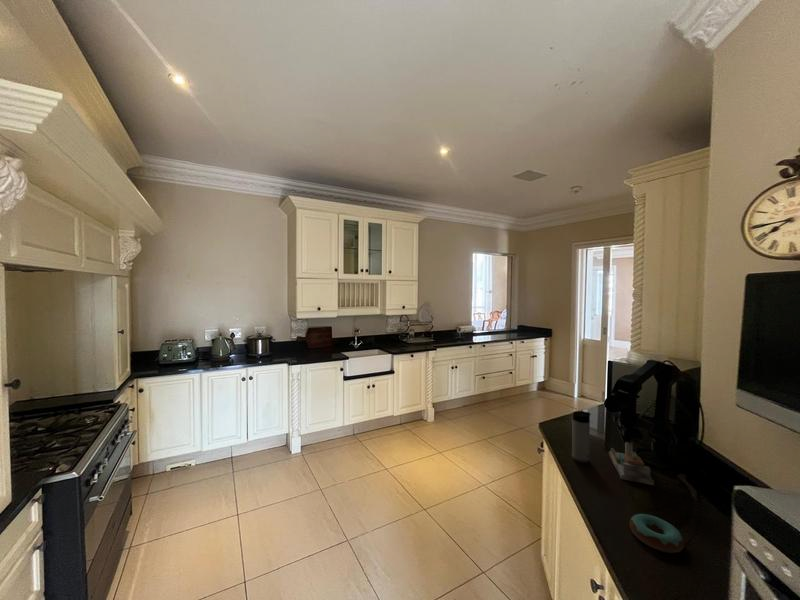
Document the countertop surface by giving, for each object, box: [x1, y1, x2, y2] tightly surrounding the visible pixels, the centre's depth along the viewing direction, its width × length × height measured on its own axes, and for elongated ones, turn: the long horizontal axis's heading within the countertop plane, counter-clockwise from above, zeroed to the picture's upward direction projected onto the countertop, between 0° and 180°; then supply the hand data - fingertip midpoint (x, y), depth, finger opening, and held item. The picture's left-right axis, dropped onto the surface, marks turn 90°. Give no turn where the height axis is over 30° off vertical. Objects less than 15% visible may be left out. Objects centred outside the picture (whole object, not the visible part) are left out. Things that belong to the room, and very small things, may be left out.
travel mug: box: [571, 410, 592, 464], centre depth 130 cm, size 6×7×20 cm
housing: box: [624, 453, 645, 466], centre depth 119 cm, size 5×5×5 cm
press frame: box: [608, 447, 655, 486], centre depth 124 cm, size 10×20×6 cm, turn 157°
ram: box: [618, 442, 634, 466], centre depth 124 cm, size 6×5×8 cm
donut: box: [629, 513, 685, 554], centre depth 88 cm, size 12×12×4 cm
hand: (626, 446), depth 128 cm, fingers closed
